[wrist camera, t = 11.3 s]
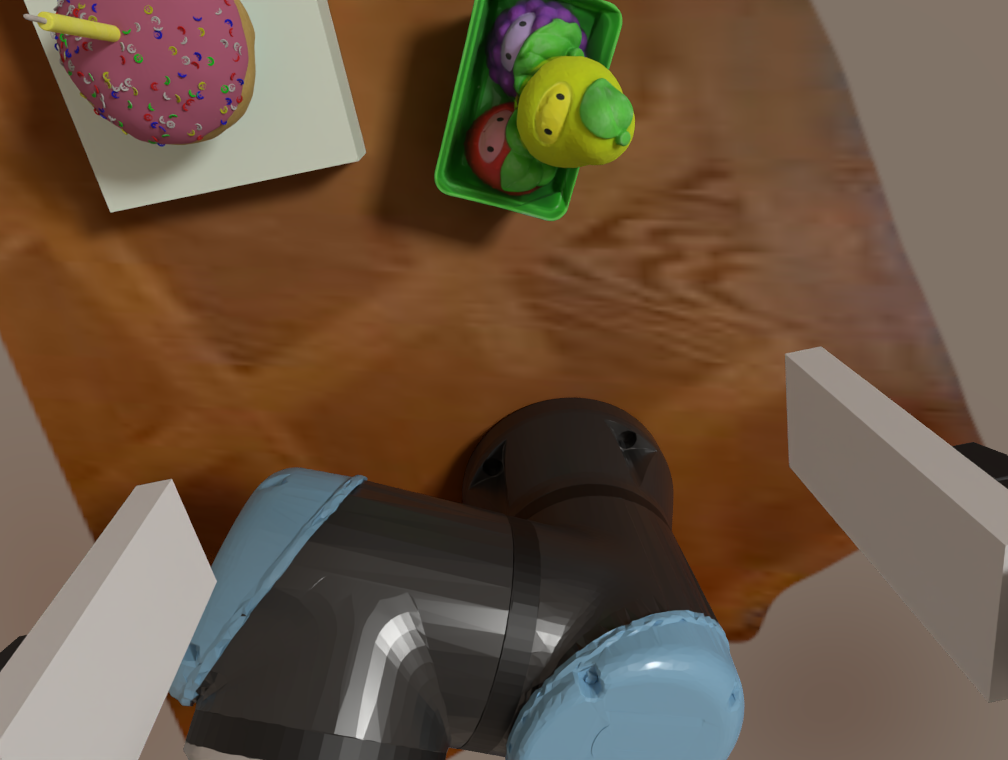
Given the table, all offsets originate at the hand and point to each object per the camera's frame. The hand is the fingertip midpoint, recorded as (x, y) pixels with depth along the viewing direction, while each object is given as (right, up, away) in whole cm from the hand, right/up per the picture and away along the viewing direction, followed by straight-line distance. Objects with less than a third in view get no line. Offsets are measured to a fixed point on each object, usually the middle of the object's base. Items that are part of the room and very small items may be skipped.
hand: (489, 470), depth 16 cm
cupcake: (-16, +19, +22) cm, 33 cm away
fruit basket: (+2, +19, +28) cm, 34 cm away
